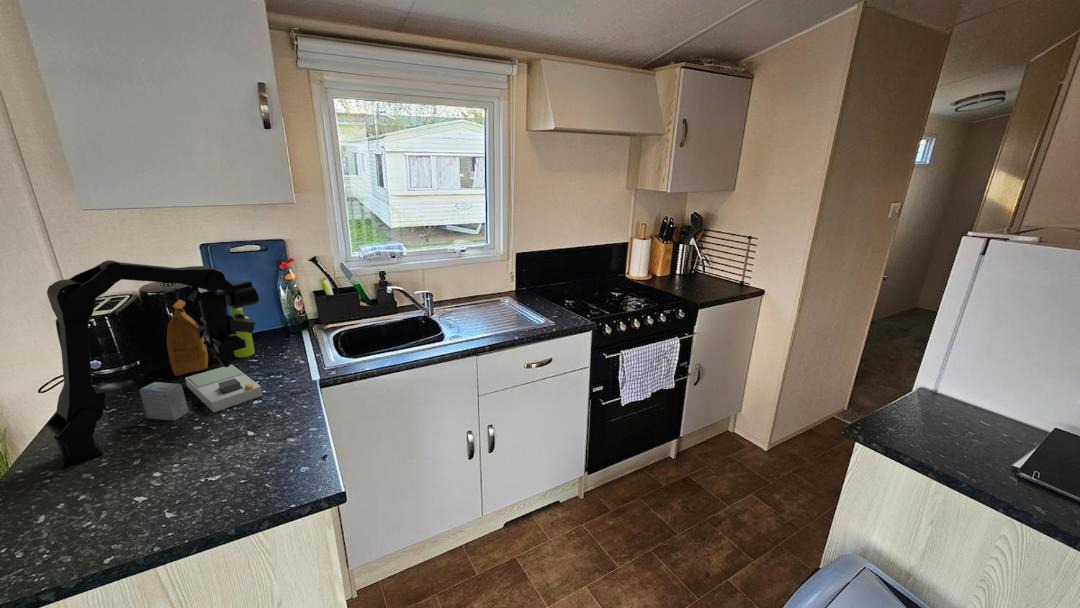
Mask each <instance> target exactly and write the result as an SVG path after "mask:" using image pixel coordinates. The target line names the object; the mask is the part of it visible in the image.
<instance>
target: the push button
mask: <svg viewBox="0 0 1080 608" xmlns="http://www.w3.org/2000/svg"><path fill="white" fill-rule="evenodd" d="M218 384H219V389H220V392H221V393H222V394H223V395H224V394H227V393H230V392H233V391H236V390H239V389H241V385H240V382H239V381H237V380H236V379H235V378H233V379H230V380H227V381H224V382H220V383H218Z"/></svg>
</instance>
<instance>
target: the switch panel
mask: <svg viewBox="0 0 1080 608" xmlns="http://www.w3.org/2000/svg"><path fill="white" fill-rule="evenodd" d="M233 378H235V379H236V380H237V381H239V382H240V385H241V389H239V390H236V391H233V392H230V393H227V394H224V395H223V394H222V393H221V392H220V389H219V384H218V383H220V382H224V381H227V380H230V379H233ZM185 383H186V387H187V388H188V389H189V390H190V391H191V392H192V393H193V394H194V395H195V396H196V397H197V398H198V399H200V401H201V402H202V403H203V404H204V405H205V406H206V407H207V408H208V409H209V410H210V411H212V412H213V413H216V412H220V411H222V410H224V409H228V408H231V407H233V406H237V405H239V404H243V403H245V402H249V401H252V400H253V399H257V398H259V397H262V396H263V392H262V386H261V385H260V384H258V383H257V382H256V381H254V380H253V379H252V378H251V377H249V376H248V375H246V374H245V373H244V372H243V371H241V370H240V369H238V368H237V367H236V366H235V365H233V364H230V366H229V367H226V368H225V367H224V366H221V367H219V368H214V369H211V370H207V371H205V372H201V373H197V374H193V375H190V376H187V377H185Z"/></svg>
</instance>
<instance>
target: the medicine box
mask: <svg viewBox="0 0 1080 608" xmlns="http://www.w3.org/2000/svg"><path fill="white" fill-rule="evenodd" d="M139 393H140V397H141V401H142V404H143V408H144V413H145V415H146V418H147V419H151V420H163V421H164V420H165V421H176V420H179V419H180V418H181V417H183V416H184V415H186V414H188V413H189V412H190V411H189V408H188V404H187V400H186V397H185V393H184V388H183V386H182V384H181V383H173V382H172V383H171V382H161V381H160V382H159V381H154V382H152V383H150V384H148V385H145V386H144V387H141V388H140V389H139Z"/></svg>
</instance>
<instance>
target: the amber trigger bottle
mask: <svg viewBox="0 0 1080 608" xmlns="http://www.w3.org/2000/svg"><path fill="white" fill-rule="evenodd" d="M185 305H186V302H185V300H182V299H178V300H177V301H176V302H175V303H174V304H173V305H172V308H173V309H174V313H173V316H172V317H171V319H170V320H169V322H168V325H167V330H166V331H167V333H166V346H167V354H168V359H169V364H170V367H171V371H172V373H173V375H174V376H176V377H177V376H178V377H179V376H182V375H186V374H188V373H189V374H190V373H192V372H193V373H194V372H199V371H203V370H206V369H208V365H209V354H208V353H209V352H208V348H207V347H206V345H205V344H204V343H203V342H205V341H206V339H205V337H204V335H202V339H199V338H197V337H196V332H195V330H196V329H197V328H198V327H200V325H199V324H198V323H197V322H196V321H195V320H194V318H192V317H191V316H190V315H188V314H187V313H186V311H185V309H184V307H185Z"/></svg>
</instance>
